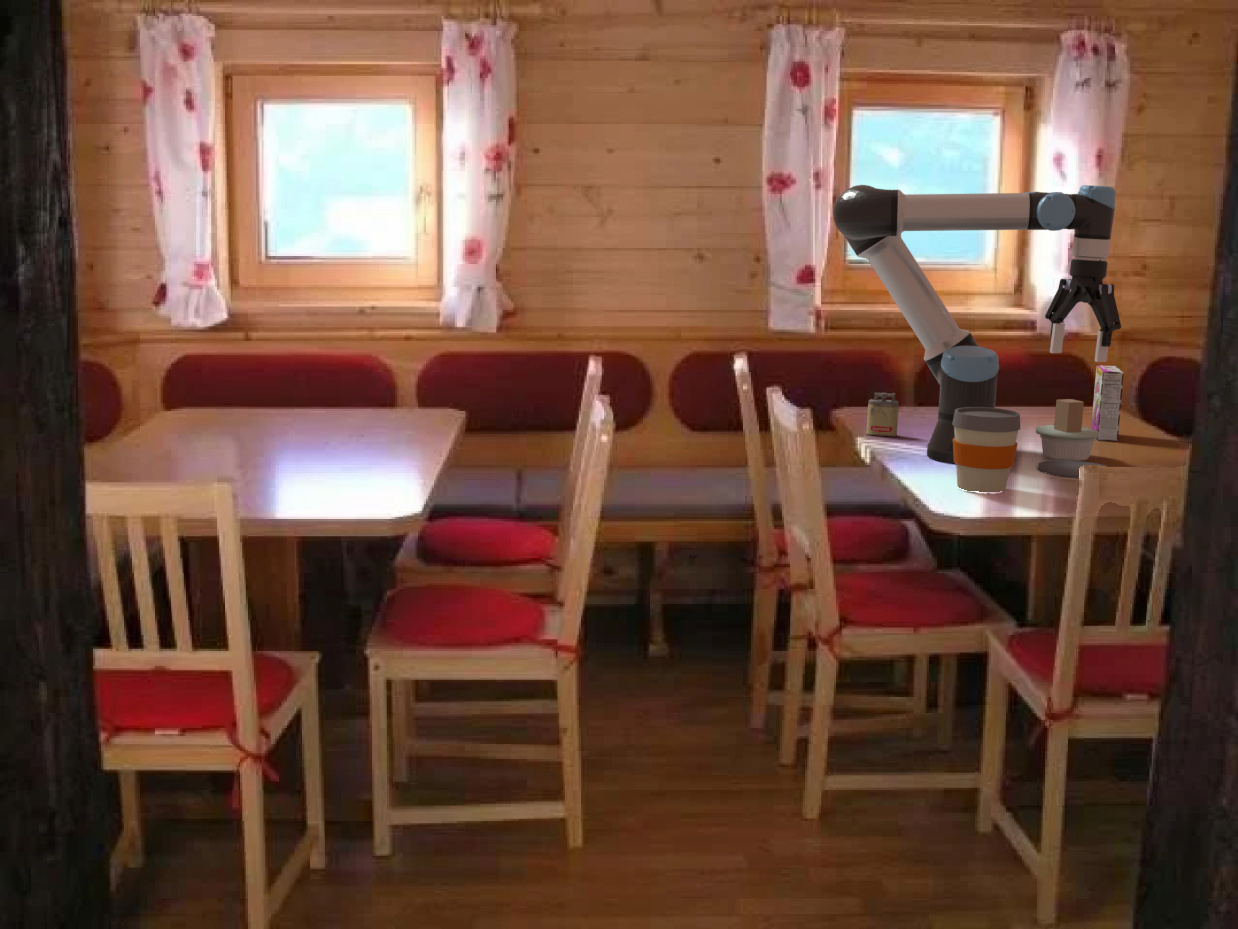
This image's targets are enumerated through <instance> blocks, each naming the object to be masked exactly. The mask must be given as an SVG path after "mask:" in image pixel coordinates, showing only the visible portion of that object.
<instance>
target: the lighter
mask: <svg viewBox="0 0 1238 929" xmlns="http://www.w3.org/2000/svg"><path fill="white" fill-rule="evenodd" d="M879 398H881V399H879ZM887 398H891V400H890V399H887ZM899 407H900V406H899V401H898V400H896V393H895V392H892V393H887V392H874V398H870V399H869V400H868V406H867V417H866V418H867V419H866V432H865V433H866V435H870V436H881V437H882V436H883V437H897V436H898V421H899V409H900V408H899Z"/></svg>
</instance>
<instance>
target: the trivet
mask: <svg viewBox="0 0 1238 929" xmlns="http://www.w3.org/2000/svg"><path fill="white" fill-rule="evenodd" d="M1037 464H1038V465H1037V470H1039V471H1040V472H1042V473H1044V472H1047V473H1046V474H1048V473H1050V474H1049V475H1052V474H1053V476H1056V475H1057V477H1063V478H1071V479H1072V478H1073V479H1079V478H1078V477H1079V468H1080V466H1083V465H1100V466H1107V464H1101V463H1097V462H1093V461H1092V462H1091V461H1085V460H1084V461H1074V460H1054V459H1050V460H1044V461H1040V462H1039V463H1037Z"/></svg>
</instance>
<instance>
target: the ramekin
mask: <svg viewBox="0 0 1238 929" xmlns="http://www.w3.org/2000/svg"><path fill="white" fill-rule="evenodd" d="M1039 435H1040V434H1039ZM1039 437H1040V438H1041V447H1042V455H1043V456H1044V457H1045V458H1048V459H1050V460H1074V461H1080V460H1084V461H1086V460H1088V459H1089V458H1090V456H1091V453H1092V449H1093V445H1094V442H1095V441H1096V439H1088V440H1072V439H1060V438H1052V437H1047V436H1043V435H1040V436H1039Z"/></svg>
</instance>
